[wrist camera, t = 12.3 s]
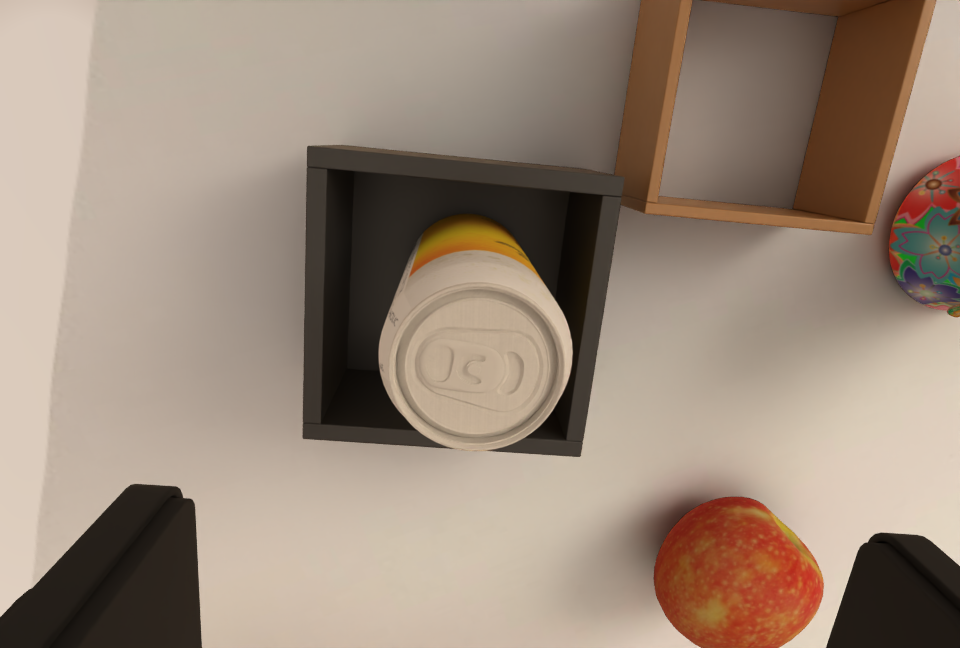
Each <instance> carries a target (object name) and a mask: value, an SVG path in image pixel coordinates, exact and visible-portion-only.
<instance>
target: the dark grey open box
mask: <svg viewBox="0 0 960 648" xmlns="http://www.w3.org/2000/svg"><path fill="white" fill-rule="evenodd" d="M624 179H625V178H624V177H622V176H617V175H612V174H607V173H602V172H597V171H592V170H587V169H579V168H569V167H559V166H549V165H539V164H529V163H518V162H508V161H498V160H488V159H478V158H468V157H458V156H447V155H437V154H427V153H417V152H407V151H397V150H387V149H376V148H366V147H356V146H346V145H323V146H308V147H307V192H306V255H305V318H304V381H303V439H314V440H329V441H344V442H360V443H375V444H390V445H405V446H420V447H436V448H450V447H447V446H444V445H441V444H439V443H437V442H435V441H433V440H431V439H429V438H427V437H426V436H424V435H423V434H421V433H420V432H419V431H418V430H416V429H415V428H414V427H413V426H412V425H411V424H410V423H409V422H408V421H407V419H406V418H405V417H404V416H403V415H402V414H401V413H400V412H399V411H398V409H397V408H396V407H395V405H394V404H393V402H392V401H391V399H390V397H389V395H388V394H387V391H386V389H385V387H384V384H383V381H382V377H381V374H380V367H379V342H380V337H381V333H382V329H383V326H384V324H385V321H386V318H387V315H388V313H389V310H390V308H391V305H392V302H393V300H394V297H395V294H396V292H397V289H398V286H399V284H400V281H401V278H402V276H403V273H404V270H405V268H406V265H407V262H408V260H409V257H410V254H411V252H412V249H413V247H414V245H415V243H416V242H417V240H418V239H419V237H420V236H421V235H422V234H423V232H424V231H425V230H426V229H428V228H429V227H430V226H431V225H433V224H434V223H436V222H437V221H439V220H441V219H443V218H446V217H449V216H452V215H457V214H476V215H482V216H485V217H488V218H490V219H492V220H495V221H496V222H498V223H500V224H501V225H502V226H504V227H505V228H506V229H507V230H508V231H509V232H510V233H511V234H512V235H513V236H514V238H515V239H516V241H517V242H518V244H519V245H520V247H521V248H522V250H523V251H524V253H525V255H526V256H527V258H528V259H529V261H530V262H531V264H532V265H533V267H534V268H535V270H536V272H537V273H538V275H539V276H540V278H541V279H542V281H543V282H544V284H545V285H546V287H547V288H548V290H549V292H550V293H551V295H552V296H553V298H554V299H555V301H556V302H557V304H558V306H559V307H560V309H561V310H562V312H563V314H564V316H565V319H566V321H567V324H568V327H569V330H570V334H571V339H572V350H573V355H572V366H571V372H570V376H569V379H568V382H567V385H566V387H565V389H564V391H563V394H562V395H561V397H560V399H559V400H558V402H557V404H556V406H555V408H554V409H553V411H552V412H551V414H550V415H549V416H548V418H547V419H546V420H545V421H544V422H543V423H542V424H541V425H540V426H539V427H538V428H537V429H536V430H534V431H533V432H532V433H531V434H529V435H528V436H526V437H525V438H523V439H521V440H519V441H517V442H515V443H513V444H510V445H508V446H505V447H501V448H498V449H493V450H487V451H496V452H512V453H527V454H542V455H557V456H573V457H580V456H581V450H582V444H583V442H582V441H583V438H584V432H585V426H586V419H587V413H588V407H589V400H590V394H591V388H592V381H593V375H594V369H595V363H596V356H597V350H598V344H599V337H600V331H601V325H602V318H603V312H604V306H605V299H606V293H607V287H608V281H609V274H610V268H611V262H612V255H613V249H614V243H615V236H616V230H617V224H618V217H619V211H620V205H621V199H622V198H621V196H622V192H623V186H624ZM451 449H454V448H451Z"/></svg>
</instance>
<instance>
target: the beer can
mask: <svg viewBox="0 0 960 648" xmlns="http://www.w3.org/2000/svg"><path fill="white" fill-rule="evenodd" d="M572 355H573V350H572V339H571V334H570V330H569V327H568V324H567V321H566V319H565V316H564V314H563V312H562V310H561V309H560V307H559V306H558V304H557V302H556V301H555V299H554V298H553V296H552V295H551V293H550V292H549V290H548V288H547V287H546V285H545V284H544V282H543V281H542V279H541V278H540V276H539V275H538V273H537V272H536V270H535V268H534V267H533V265H532V264H531V262H530V261H529V259H528V258H527V256H526V255H525V253H524V251H523V250H522V248H521V247H520V245H519V244H518V242H517V241H516V239H515V238H514V236H513V235H512V234H511V233H510V232H509V231H508V230H507V229H506V228H505V227H504V226H502V225H501V224H500V223H498V222H496V221H495V220H492V219H490V218H488V217H485V216H482V215H476V214H457V215H452V216H449V217H446V218H443V219H441V220H439V221H437V222H436V223H434V224H433V225H431V226H430V227H429V228H428V229H426V230H425V231H424V232H423V234H422V235H421V236H420V237H419V239H418V240H417V242H416V243H415V245H414V247H413V249H412V252H411V254H410V257H409V260H408V262H407V265H406V268H405V270H404V273H403V276H402V278H401V281H400V284H399V286H398V289H397V292H396V294H395V297H394V300H393V302H392V305H391V308H390V310H389V313H388V315H387V318H386V321H385V324H384V326H383V329H382V333H381V337H380V342H379V367H380V374H381V377H382V381H383V384H384V387H385V389H386V391H387V394H388V395H389V397H390V399H391V401H392V402H393V404H394V405H395V407H396V408H397V409H398V411H399V412H400V413H401V414H402V415H403V416H404V417H405V418H406V419H407V421H408V422H409V423H410V424H411V425H412V426H413V427H414V428H415V429H416V430H418V431H419V432H420V433H421V434H423V435H424V436H426V437H427V438H429V439H431V440H433V441H435V442H437V443H439V444H441V445H444V446H447V447H450V448H454V449H459V450H465V451H487V450H493V449H498V448H501V447H505V446H508V445H510V444H513V443H515V442H517V441H519V440H521V439H523V438H525V437H526V436H528V435H529V434H531V433H532V432H533V431H534V430H536V429H537V428H538V427H539V426H540V425H541V424H542V423H543V422H544V421H545V420H546V419H547V418H548V416H549V415H550V414H551V412H552V411H553V409H554V408H555V406H556V404H557V402H558V400H559V399H560V397H561V395H562V394H563V391H564V389H565V387H566V385H567V382H568V379H569V376H570V372H571V366H572Z"/></svg>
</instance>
